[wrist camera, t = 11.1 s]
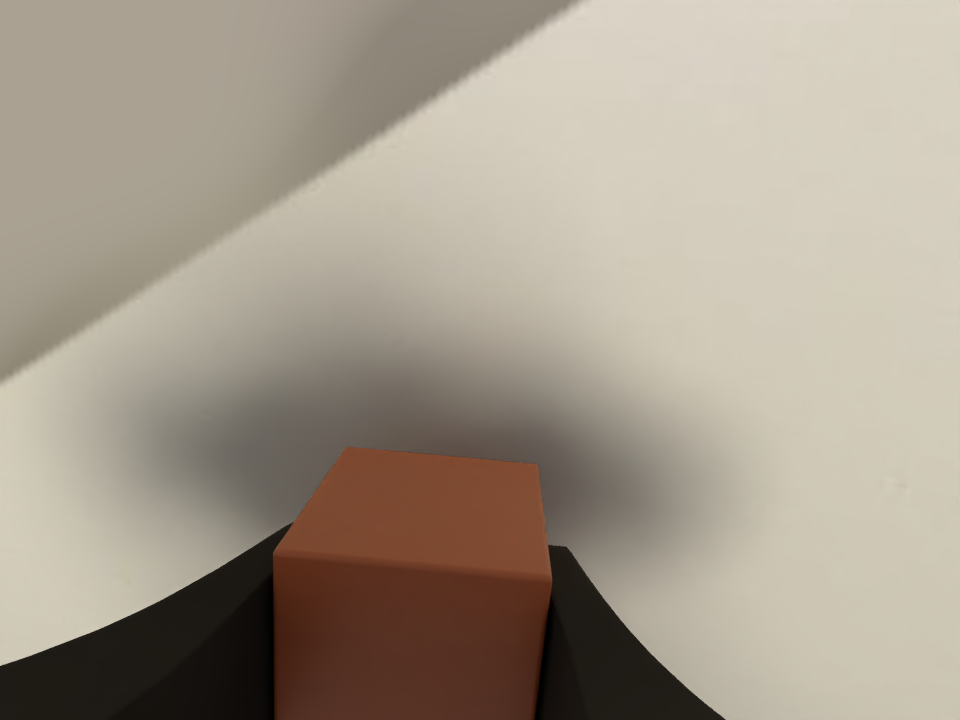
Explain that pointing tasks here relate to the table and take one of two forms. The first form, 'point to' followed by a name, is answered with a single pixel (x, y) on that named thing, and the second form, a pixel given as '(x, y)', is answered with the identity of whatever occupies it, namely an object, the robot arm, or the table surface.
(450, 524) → the block
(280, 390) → the table surface
